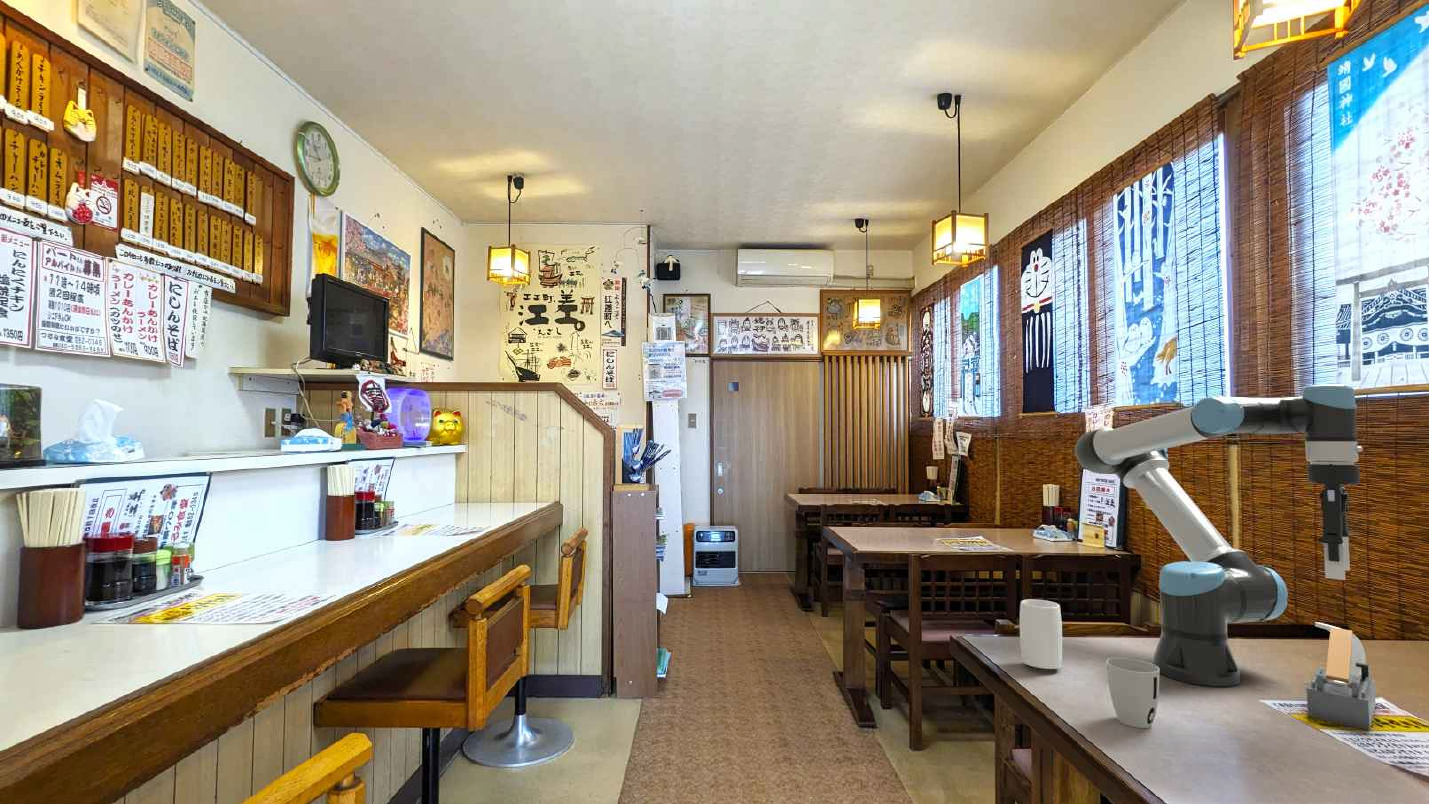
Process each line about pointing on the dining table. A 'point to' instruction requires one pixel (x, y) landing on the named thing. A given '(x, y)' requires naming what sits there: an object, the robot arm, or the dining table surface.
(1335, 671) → the tan flat bar
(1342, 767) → the dining table surface
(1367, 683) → the block
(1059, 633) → the cup
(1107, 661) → the cup
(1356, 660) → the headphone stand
